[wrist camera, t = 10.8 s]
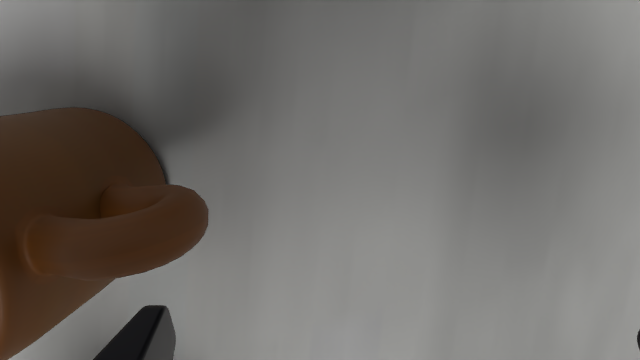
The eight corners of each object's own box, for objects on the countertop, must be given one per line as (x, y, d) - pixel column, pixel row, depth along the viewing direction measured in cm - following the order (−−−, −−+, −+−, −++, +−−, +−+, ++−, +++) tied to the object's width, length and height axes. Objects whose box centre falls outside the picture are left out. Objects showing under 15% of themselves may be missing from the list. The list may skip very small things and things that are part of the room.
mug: (251, 77, 20) (118, 97, 11) (283, 251, 21) (191, 396, 12) (2, 116, 22) (-278, 158, 13) (48, 269, 24) (-171, 401, 15)
